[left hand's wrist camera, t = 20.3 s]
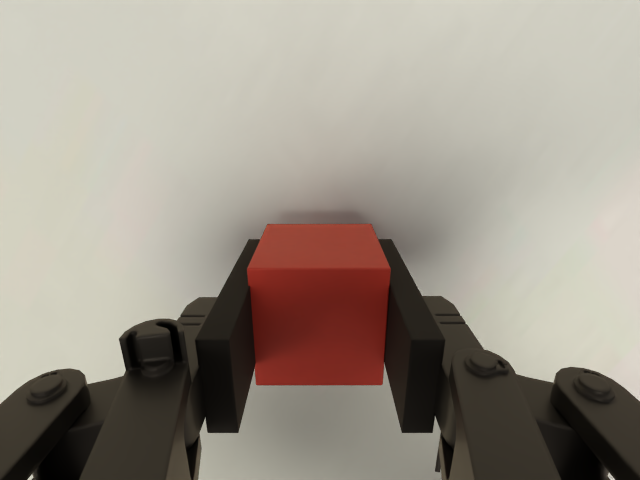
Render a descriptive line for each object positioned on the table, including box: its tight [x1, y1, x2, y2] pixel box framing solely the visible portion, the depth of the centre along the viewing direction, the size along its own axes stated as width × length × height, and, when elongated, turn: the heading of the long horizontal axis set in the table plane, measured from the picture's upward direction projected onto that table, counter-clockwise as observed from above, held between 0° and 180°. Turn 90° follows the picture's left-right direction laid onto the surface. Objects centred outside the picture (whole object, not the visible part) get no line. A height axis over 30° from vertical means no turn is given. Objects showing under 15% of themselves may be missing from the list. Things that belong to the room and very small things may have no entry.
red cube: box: [247, 224, 391, 385], centre depth 13 cm, size 4×4×4 cm
